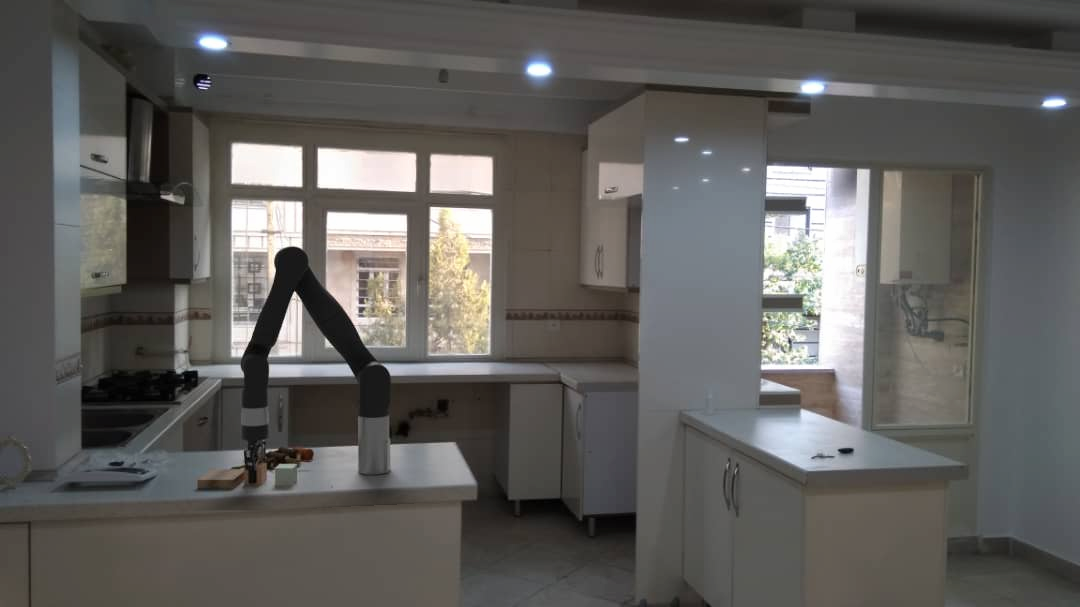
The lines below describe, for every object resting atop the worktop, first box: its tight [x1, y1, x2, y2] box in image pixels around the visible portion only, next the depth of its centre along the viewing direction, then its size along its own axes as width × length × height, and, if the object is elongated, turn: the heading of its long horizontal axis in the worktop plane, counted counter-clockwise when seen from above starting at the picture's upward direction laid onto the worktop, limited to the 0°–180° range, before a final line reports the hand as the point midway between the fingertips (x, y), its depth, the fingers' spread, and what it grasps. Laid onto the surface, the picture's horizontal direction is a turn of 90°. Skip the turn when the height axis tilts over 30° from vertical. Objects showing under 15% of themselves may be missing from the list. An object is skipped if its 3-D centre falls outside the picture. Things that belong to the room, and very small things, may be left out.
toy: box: [230, 446, 315, 470], centre depth 262 cm, size 26×6×30 cm
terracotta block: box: [243, 463, 268, 485], centre depth 243 cm, size 5×5×5 cm
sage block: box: [274, 463, 298, 486], centre depth 242 cm, size 5×5×5 cm
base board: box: [196, 468, 244, 489], centre depth 242 cm, size 10×12×2 cm
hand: (255, 480), depth 243 cm, fingers closed on terracotta block, 5 cm apart
